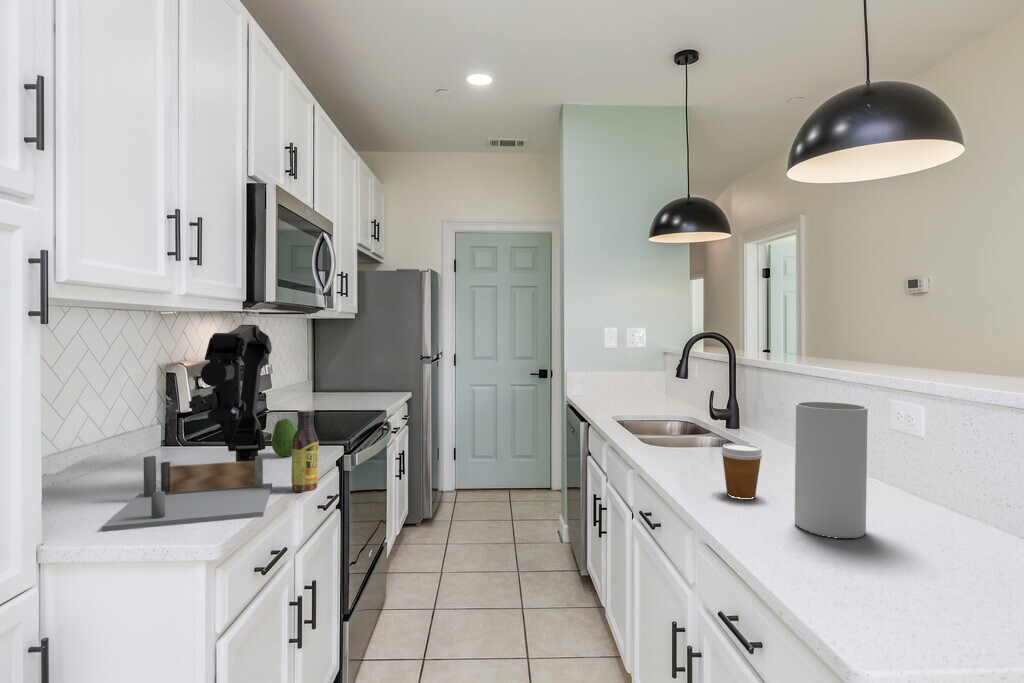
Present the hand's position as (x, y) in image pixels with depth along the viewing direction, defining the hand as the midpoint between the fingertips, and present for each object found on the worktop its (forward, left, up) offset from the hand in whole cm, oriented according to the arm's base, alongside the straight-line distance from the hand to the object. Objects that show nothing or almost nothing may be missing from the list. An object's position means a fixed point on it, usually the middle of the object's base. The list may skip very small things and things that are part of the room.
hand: (228, 444), depth 142 cm
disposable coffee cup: (+47, +118, -11) cm, 128 cm away
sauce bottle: (+8, +18, -11) cm, 23 cm away
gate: (+6, -2, -10) cm, 12 cm away
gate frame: (+15, -4, -11) cm, 19 cm away
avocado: (-33, +11, -11) cm, 37 cm away
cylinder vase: (+71, +119, -11) cm, 139 cm away
